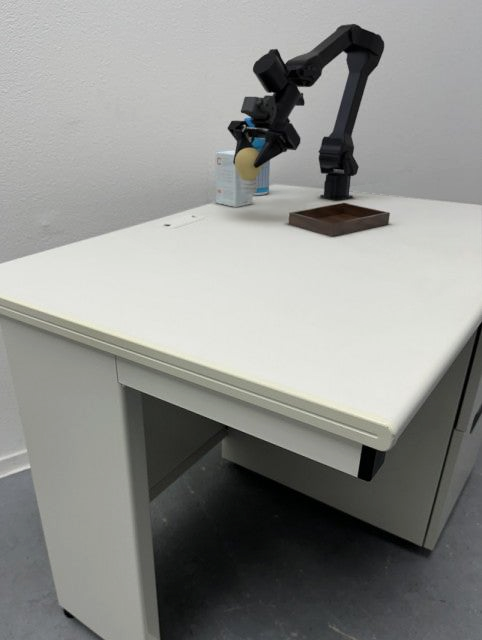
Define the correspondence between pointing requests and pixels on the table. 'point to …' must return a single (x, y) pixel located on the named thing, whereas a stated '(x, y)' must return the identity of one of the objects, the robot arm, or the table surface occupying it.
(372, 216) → the walnut tray
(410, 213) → the table surface
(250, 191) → the light bulb
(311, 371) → the table surface
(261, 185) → the beverage bottle
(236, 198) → the small box
